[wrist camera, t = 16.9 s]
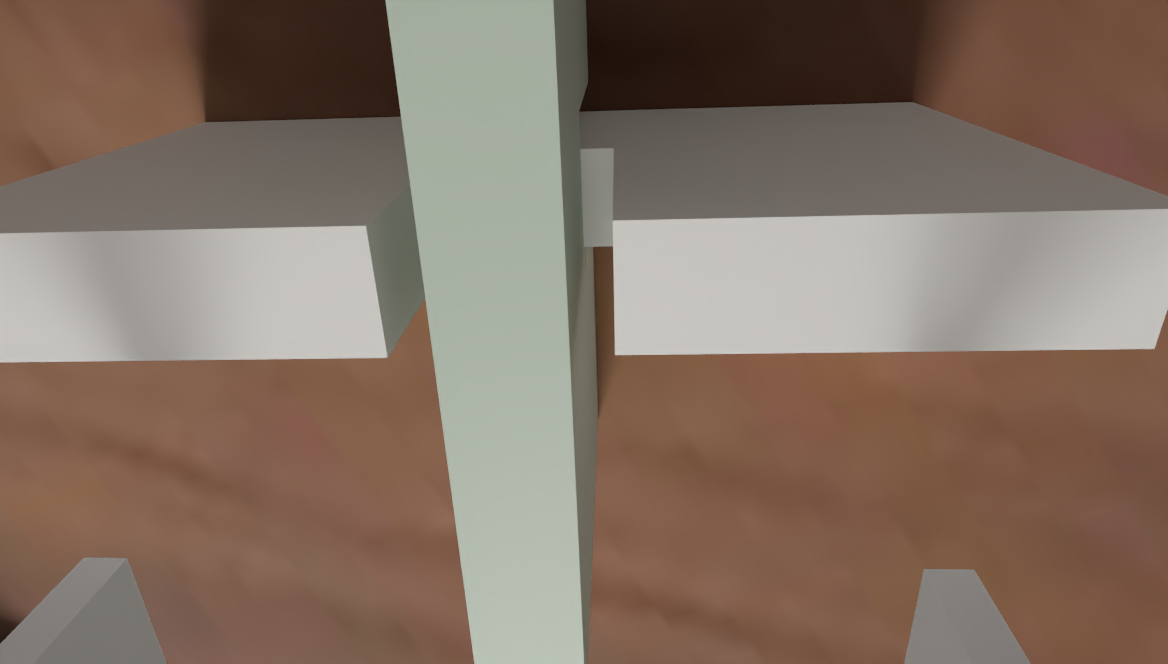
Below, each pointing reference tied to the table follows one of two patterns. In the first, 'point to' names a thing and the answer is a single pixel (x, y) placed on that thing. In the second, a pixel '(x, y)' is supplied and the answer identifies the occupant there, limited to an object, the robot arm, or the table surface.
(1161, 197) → the white board
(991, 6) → the table surface
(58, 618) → the robot arm
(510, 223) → the green board
